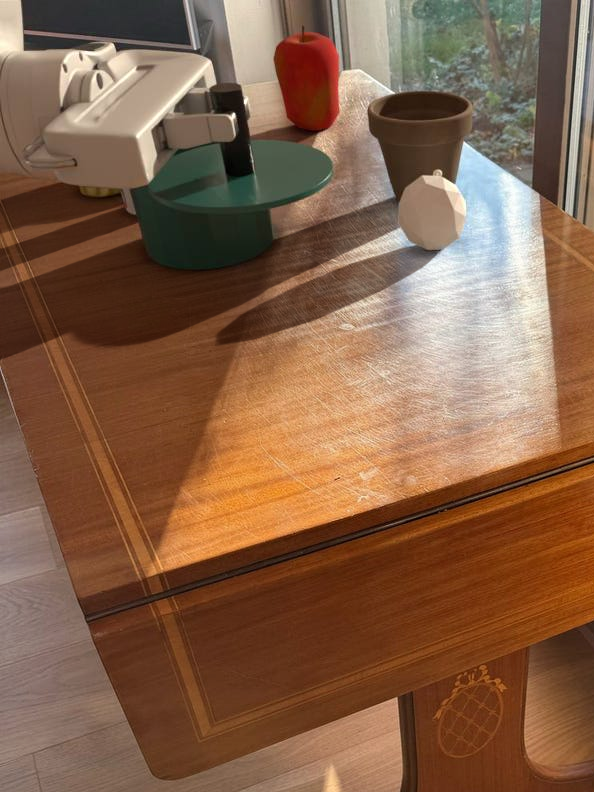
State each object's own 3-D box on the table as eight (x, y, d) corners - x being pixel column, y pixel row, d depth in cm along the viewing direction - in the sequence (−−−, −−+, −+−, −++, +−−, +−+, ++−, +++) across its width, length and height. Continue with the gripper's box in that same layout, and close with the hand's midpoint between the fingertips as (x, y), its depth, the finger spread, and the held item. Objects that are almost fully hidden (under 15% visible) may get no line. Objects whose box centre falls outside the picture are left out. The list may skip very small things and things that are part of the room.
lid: (137, 228, 73) (110, 125, 68) (162, 158, 83) (140, 64, 78) (334, 215, 74) (322, 112, 69) (334, 148, 84) (323, 55, 79)
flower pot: (460, 175, 119) (457, 83, 111) (486, 211, 111) (485, 114, 104) (367, 187, 117) (358, 94, 109) (386, 224, 109) (378, 127, 102)
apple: (293, 114, 136) (279, 16, 128) (352, 115, 135) (341, 16, 127) (276, 135, 130) (259, 34, 122) (337, 137, 129) (325, 34, 121)
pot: (136, 286, 100) (111, 200, 94) (158, 212, 113) (138, 133, 107) (270, 276, 100) (255, 191, 94) (277, 204, 114) (263, 125, 108)
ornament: (384, 246, 105) (395, 168, 103) (448, 263, 107) (460, 186, 106) (403, 235, 98) (415, 151, 97) (471, 253, 101) (483, 171, 100)
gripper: (-6, 116, 66) (192, 117, 65) (101, 35, 81) (266, 35, 80) (26, 211, 71) (213, 213, 70) (123, 118, 85) (279, 119, 84)
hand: (242, 117), depth 75 cm, fingers closed on lid, 2 cm apart
